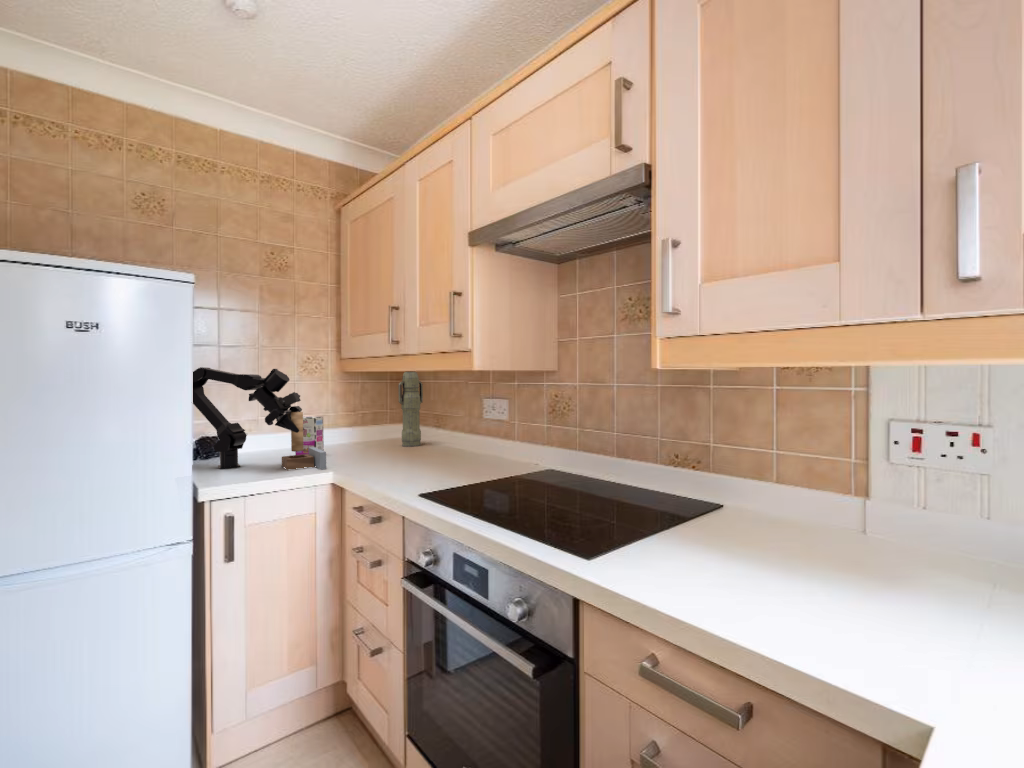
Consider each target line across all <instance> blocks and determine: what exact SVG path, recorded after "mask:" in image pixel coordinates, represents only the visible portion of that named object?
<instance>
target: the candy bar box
mask: <svg viewBox="0 0 1024 768" xmlns="http://www.w3.org/2000/svg"><path fill="white" fill-rule="evenodd" d="M303 427H304V431H303V451H296V452H295V455H303V454H308V455H309V448H310V447H315V448H317V449H320V450H322V451H325V449H324V446H325V444H324V440H325V439H324V416H310V415H309V416H304V415H303Z"/></svg>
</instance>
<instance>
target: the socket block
mask: <svg viewBox="0 0 1024 768" xmlns="http://www.w3.org/2000/svg"><path fill="white" fill-rule="evenodd" d="M282 466H283V467H285V468H286V469H295V470H297V469H296V468H303V469H305V468H304V467H312V468H315V466H314V457H313V456H311V455H308V454H303V455H296V454H294V455H286V456H285V455H284V456H281V467H282ZM283 467H282V468H283ZM286 469H285V470H286Z"/></svg>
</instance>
